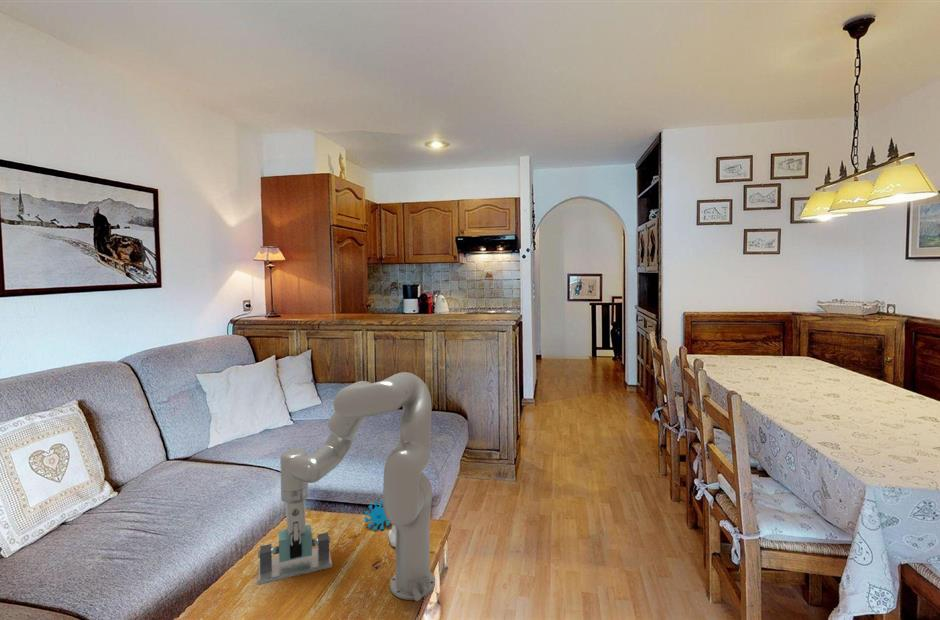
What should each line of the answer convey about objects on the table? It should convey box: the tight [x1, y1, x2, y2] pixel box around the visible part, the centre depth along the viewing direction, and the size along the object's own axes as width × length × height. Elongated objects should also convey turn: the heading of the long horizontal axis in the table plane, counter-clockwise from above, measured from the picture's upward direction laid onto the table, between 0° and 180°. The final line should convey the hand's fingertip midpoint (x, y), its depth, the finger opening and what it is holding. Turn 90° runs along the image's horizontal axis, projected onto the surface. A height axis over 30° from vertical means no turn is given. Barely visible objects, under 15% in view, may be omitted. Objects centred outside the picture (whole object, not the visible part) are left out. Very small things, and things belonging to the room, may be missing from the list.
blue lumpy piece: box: [364, 499, 391, 532], centre depth 158 cm, size 11×6×10 cm
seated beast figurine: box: [387, 524, 396, 548], centre depth 146 cm, size 10×9×12 cm
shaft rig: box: [257, 531, 333, 585], centre depth 133 cm, size 10×20×7 cm, turn 114°
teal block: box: [278, 524, 313, 563], centre depth 133 cm, size 6×9×6 cm, turn 113°
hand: (295, 550), depth 133 cm, fingers closed on teal block, 5 cm apart
